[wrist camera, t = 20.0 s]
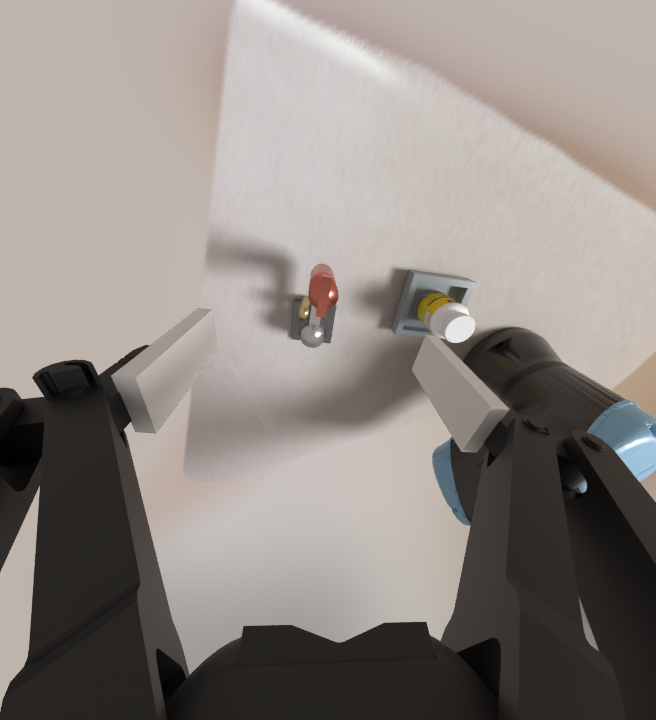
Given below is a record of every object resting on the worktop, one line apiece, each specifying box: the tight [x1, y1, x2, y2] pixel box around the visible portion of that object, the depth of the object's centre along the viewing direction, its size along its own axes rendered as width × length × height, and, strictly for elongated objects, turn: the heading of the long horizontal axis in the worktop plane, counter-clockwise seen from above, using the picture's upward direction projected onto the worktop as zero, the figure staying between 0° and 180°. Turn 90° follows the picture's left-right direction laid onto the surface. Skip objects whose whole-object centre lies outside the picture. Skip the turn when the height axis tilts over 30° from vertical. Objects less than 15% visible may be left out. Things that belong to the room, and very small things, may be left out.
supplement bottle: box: [415, 291, 475, 343], centre depth 35 cm, size 5×5×10 cm
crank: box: [300, 264, 338, 348], centre depth 29 cm, size 13×4×11 cm, turn 170°
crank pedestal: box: [291, 296, 336, 343], centre depth 37 cm, size 7×8×6 cm
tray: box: [391, 270, 477, 340], centre depth 38 cm, size 10×10×2 cm
